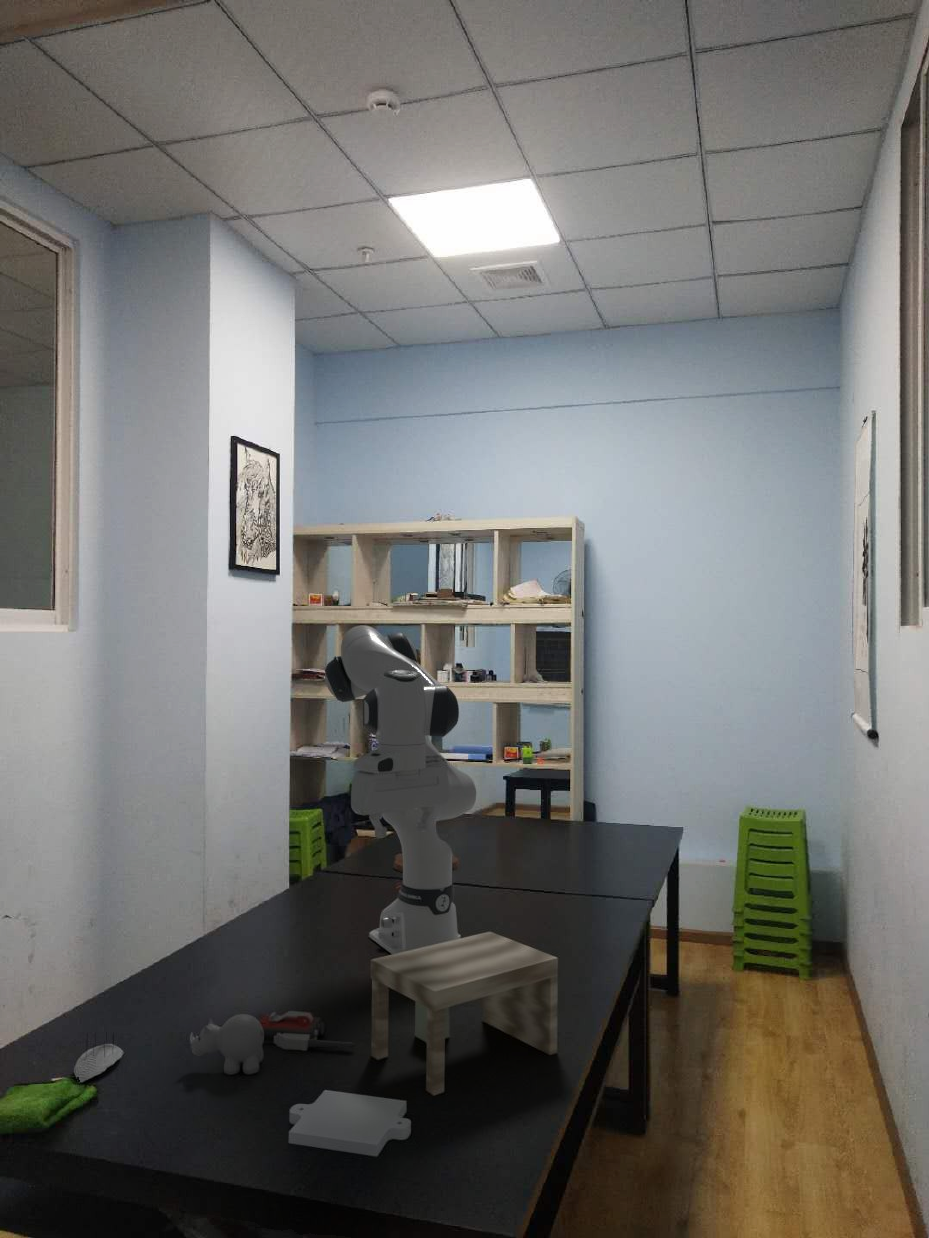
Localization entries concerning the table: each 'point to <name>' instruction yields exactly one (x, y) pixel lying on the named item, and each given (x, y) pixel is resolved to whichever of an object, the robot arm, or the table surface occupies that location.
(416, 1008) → the sage wooden block
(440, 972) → the wood grain stool
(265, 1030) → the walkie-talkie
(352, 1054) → the table surface
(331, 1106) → the mounting plate
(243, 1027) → the chubby cartoon animal
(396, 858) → the plant
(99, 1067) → the pincushion
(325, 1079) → the table surface
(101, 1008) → the table surface
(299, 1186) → the table surface
